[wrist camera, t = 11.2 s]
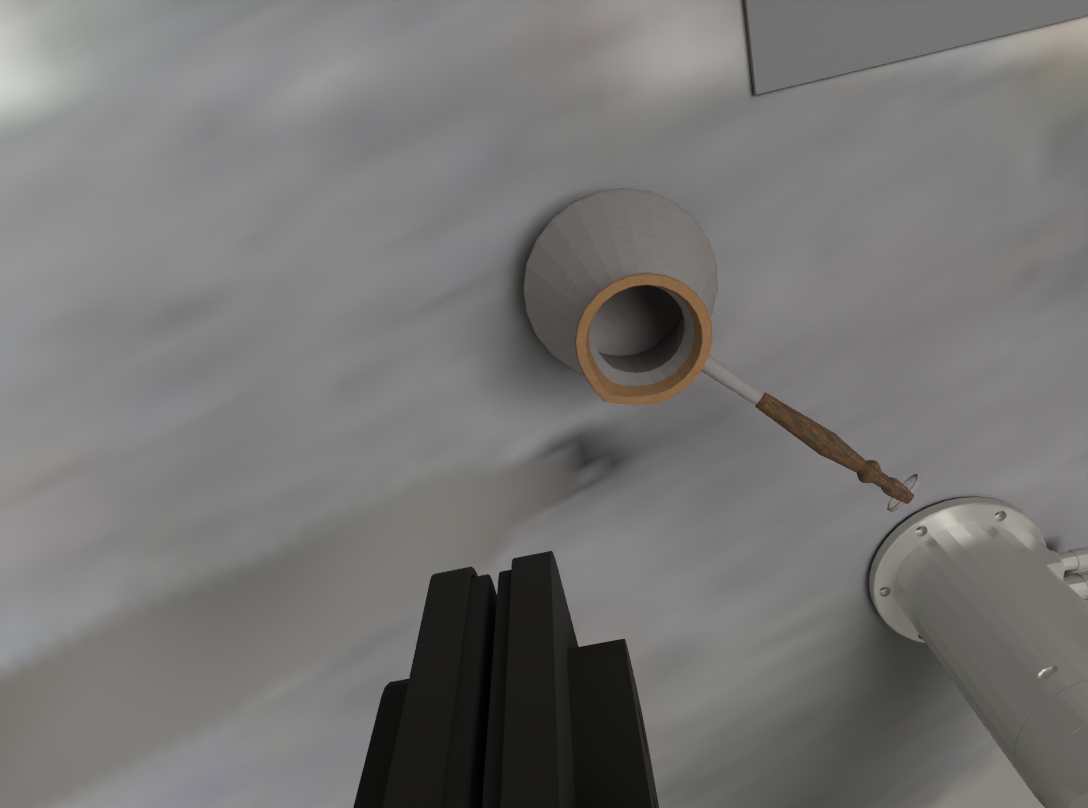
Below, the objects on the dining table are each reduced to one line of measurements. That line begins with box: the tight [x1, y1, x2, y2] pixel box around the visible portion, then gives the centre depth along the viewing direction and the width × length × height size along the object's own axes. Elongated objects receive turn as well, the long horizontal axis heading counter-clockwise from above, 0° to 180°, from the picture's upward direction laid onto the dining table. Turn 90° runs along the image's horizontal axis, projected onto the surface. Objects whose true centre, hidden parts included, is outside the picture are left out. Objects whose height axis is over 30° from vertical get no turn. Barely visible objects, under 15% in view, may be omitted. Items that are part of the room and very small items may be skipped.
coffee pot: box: [523, 188, 921, 512], centre depth 40 cm, size 21×12×15 cm, turn 60°
